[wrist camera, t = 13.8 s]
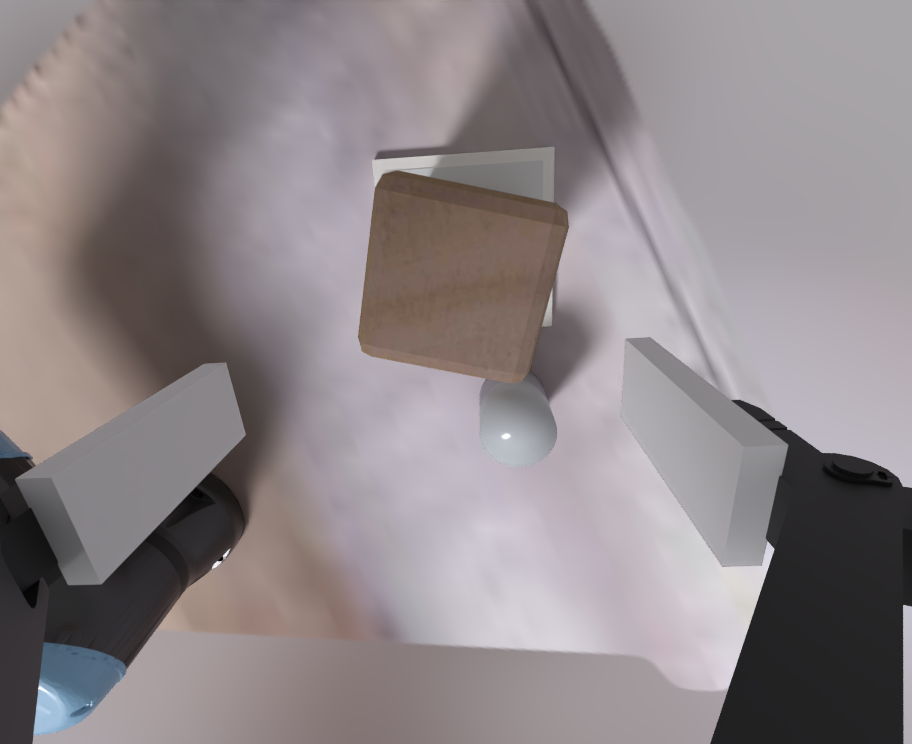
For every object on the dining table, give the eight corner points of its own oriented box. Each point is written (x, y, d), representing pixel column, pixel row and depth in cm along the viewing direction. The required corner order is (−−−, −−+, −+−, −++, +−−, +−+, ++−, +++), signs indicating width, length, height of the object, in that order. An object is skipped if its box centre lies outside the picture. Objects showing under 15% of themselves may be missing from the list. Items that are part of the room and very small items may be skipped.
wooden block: (422, 180, 40) (373, 164, 21) (531, 202, 40) (578, 207, 21) (405, 290, 43) (351, 359, 25) (506, 310, 44) (527, 393, 25)
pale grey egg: (480, 427, 50) (481, 468, 42) (478, 368, 47) (478, 400, 40) (544, 425, 49) (556, 465, 42) (545, 365, 47) (557, 397, 39)
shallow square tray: (393, 331, 46) (392, 334, 45) (373, 160, 40) (371, 159, 39) (550, 324, 45) (552, 326, 44) (553, 147, 39) (554, 146, 38)
